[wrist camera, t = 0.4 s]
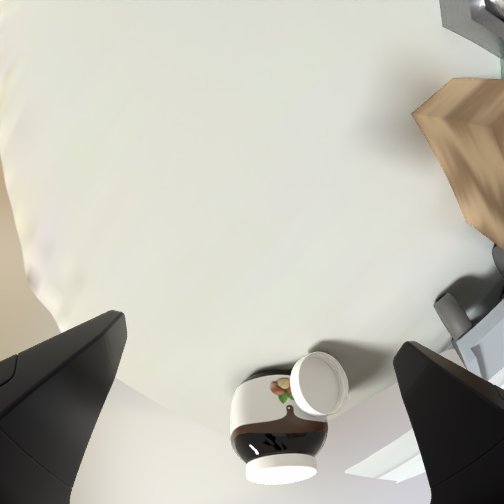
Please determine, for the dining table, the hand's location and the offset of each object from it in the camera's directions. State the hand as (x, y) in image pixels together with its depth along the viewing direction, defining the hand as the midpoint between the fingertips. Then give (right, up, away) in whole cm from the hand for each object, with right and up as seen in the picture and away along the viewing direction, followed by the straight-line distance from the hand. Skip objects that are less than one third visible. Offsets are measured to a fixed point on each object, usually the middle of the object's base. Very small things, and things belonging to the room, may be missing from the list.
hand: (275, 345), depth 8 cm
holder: (+19, +25, +3) cm, 31 cm away
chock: (+18, +11, +11) cm, 23 cm away
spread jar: (+3, -11, +22) cm, 25 cm away
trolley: (+27, -3, +18) cm, 32 cm away
